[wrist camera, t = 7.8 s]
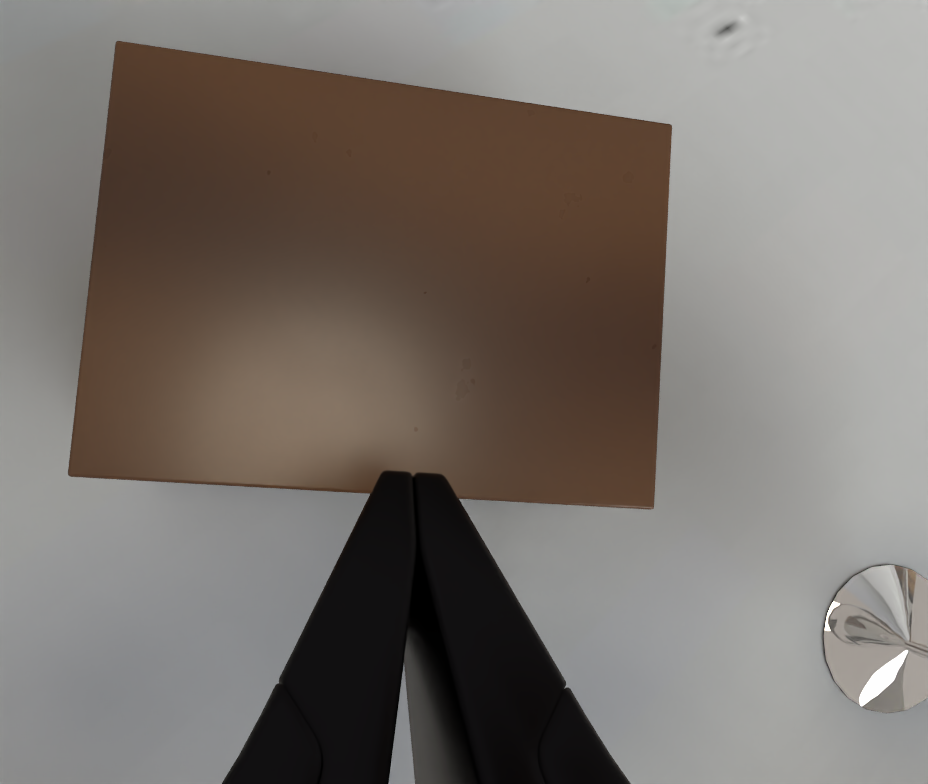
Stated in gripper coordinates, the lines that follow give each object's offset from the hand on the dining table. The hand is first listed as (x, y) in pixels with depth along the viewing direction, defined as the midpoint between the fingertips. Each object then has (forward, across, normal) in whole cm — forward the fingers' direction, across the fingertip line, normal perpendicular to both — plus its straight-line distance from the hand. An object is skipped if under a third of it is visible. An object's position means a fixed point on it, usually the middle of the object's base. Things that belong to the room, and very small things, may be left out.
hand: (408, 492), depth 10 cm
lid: (+8, 0, +2) cm, 8 cm away
